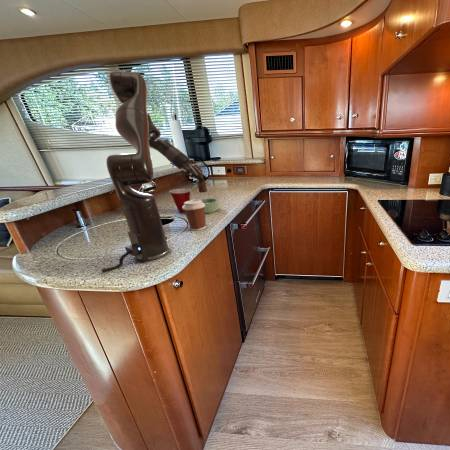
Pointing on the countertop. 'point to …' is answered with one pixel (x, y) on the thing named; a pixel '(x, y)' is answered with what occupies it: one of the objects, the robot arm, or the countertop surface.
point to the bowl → (210, 205)
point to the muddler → (201, 184)
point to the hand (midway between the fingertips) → (204, 180)
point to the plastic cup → (180, 197)
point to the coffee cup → (195, 214)
